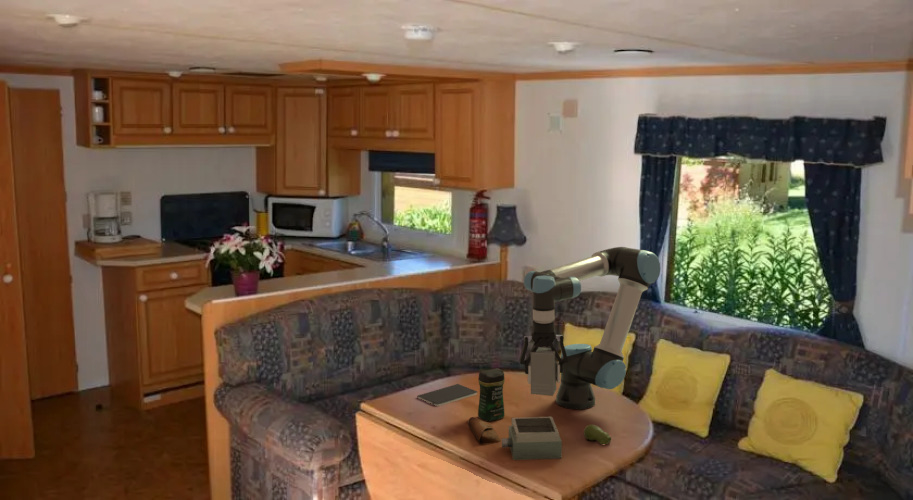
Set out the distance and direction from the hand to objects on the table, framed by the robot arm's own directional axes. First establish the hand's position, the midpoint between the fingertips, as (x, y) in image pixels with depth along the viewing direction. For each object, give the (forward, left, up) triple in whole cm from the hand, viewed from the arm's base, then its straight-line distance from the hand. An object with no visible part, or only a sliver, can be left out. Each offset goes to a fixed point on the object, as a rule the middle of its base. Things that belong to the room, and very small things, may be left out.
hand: (543, 381), depth 285 cm
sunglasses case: (+21, 0, -19) cm, 29 cm away
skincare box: (0, 0, -4) cm, 4 cm away
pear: (-18, +9, -19) cm, 27 cm away
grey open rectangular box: (+7, +15, -19) cm, 25 cm away
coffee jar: (+17, -15, -19) cm, 30 cm away
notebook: (+33, -39, -20) cm, 54 cm away
